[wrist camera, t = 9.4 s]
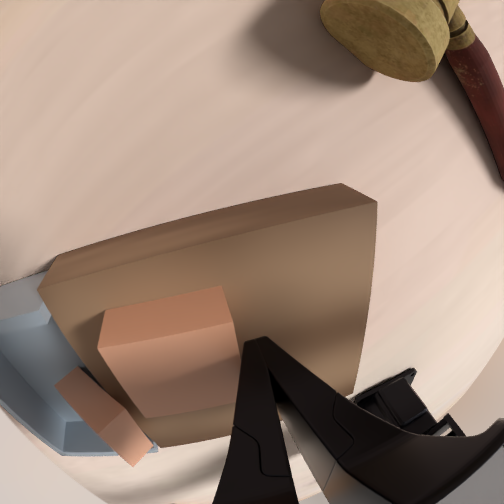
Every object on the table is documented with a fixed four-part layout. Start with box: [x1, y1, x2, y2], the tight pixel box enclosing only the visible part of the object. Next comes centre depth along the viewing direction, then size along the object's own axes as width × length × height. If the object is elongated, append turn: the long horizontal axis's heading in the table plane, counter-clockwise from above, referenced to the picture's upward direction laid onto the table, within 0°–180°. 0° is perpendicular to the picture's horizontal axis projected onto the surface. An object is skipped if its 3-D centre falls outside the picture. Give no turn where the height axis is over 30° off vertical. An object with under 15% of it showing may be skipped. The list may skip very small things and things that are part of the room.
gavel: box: [320, 0, 504, 181], centre depth 10 cm, size 21×5×10 cm
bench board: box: [37, 183, 377, 448], centre depth 12 cm, size 12×12×2 cm
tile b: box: [97, 286, 241, 418], centre depth 9 cm, size 4×4×2 cm
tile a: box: [54, 366, 154, 467], centre depth 11 cm, size 4×4×2 cm
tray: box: [0, 270, 158, 456], centre depth 11 cm, size 11×7×3 cm, turn 9°
